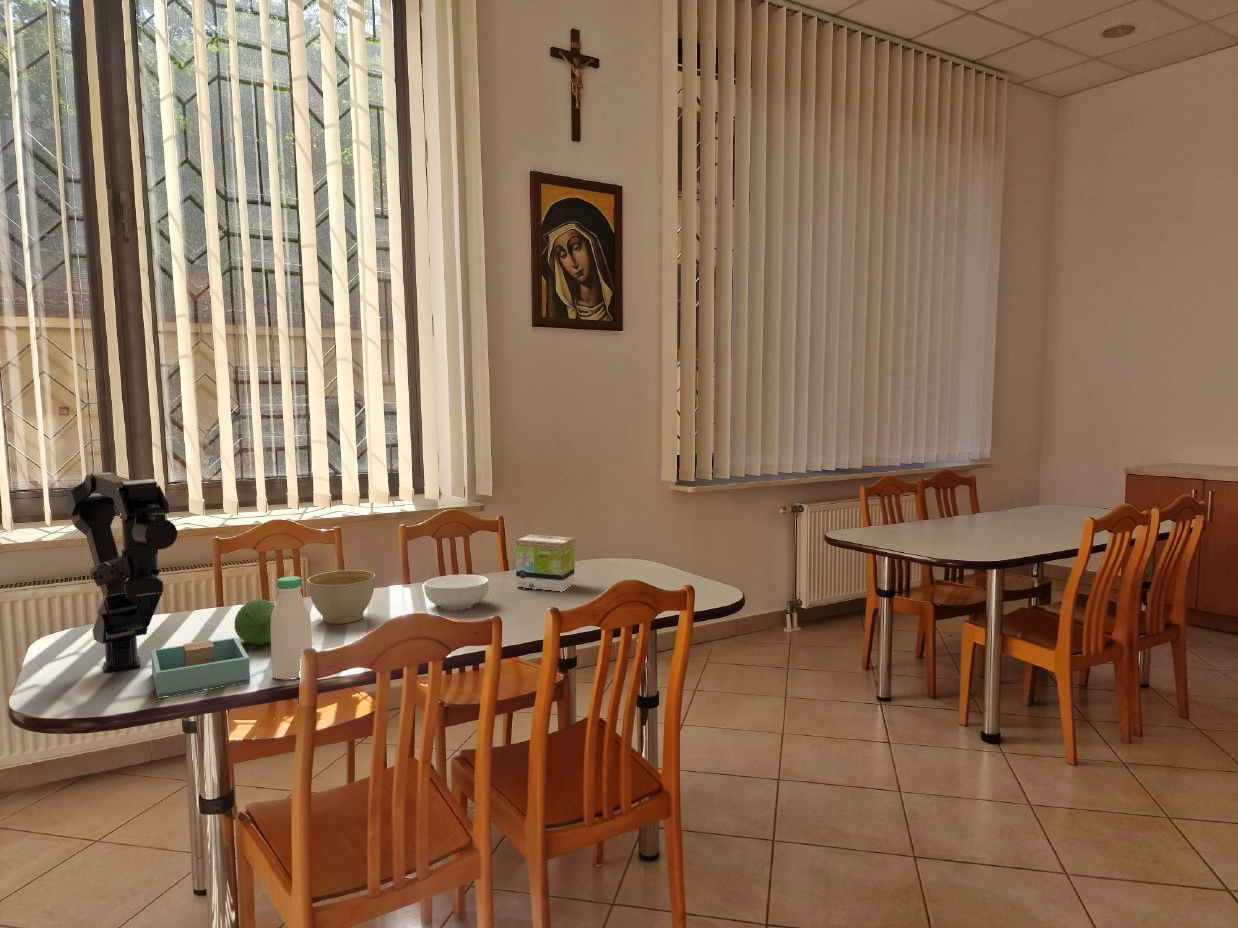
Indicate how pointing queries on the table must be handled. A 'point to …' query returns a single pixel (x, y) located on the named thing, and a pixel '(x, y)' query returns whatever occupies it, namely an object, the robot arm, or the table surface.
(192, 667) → the teal bin
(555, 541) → the tea box
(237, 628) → the fruit
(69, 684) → the table surface
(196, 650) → the walnut block
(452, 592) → the cereal bowl
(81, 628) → the table surface
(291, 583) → the milk bottle
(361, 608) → the planter bowl
